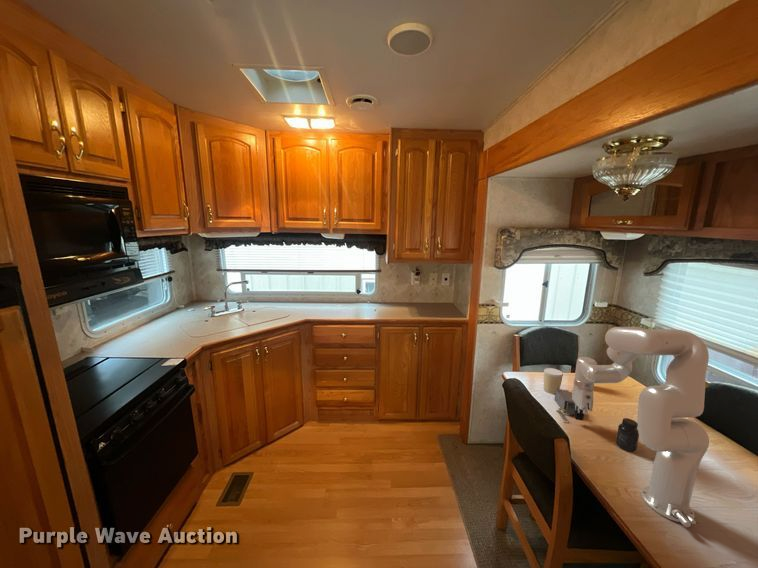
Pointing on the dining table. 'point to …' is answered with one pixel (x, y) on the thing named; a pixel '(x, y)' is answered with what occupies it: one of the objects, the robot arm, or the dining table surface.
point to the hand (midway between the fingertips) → (578, 418)
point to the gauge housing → (562, 402)
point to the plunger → (569, 408)
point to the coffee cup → (552, 380)
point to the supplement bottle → (627, 435)
